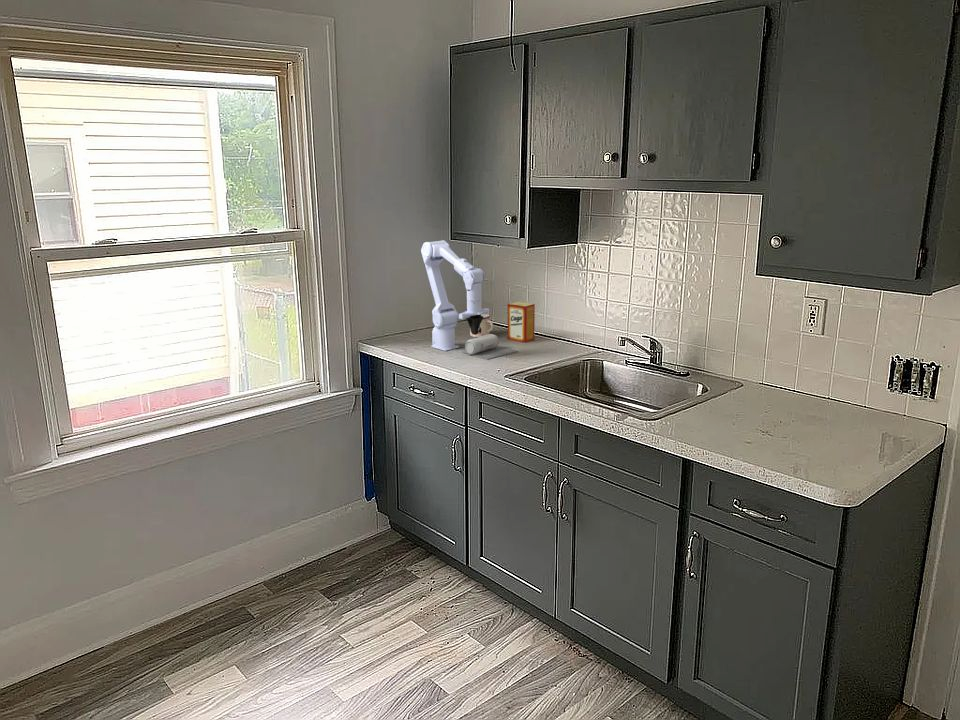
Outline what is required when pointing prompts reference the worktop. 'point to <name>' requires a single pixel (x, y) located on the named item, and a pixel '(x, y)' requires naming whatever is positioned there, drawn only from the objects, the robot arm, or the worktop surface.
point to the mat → (493, 352)
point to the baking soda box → (521, 321)
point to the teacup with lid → (484, 327)
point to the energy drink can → (481, 344)
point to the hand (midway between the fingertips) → (474, 334)
